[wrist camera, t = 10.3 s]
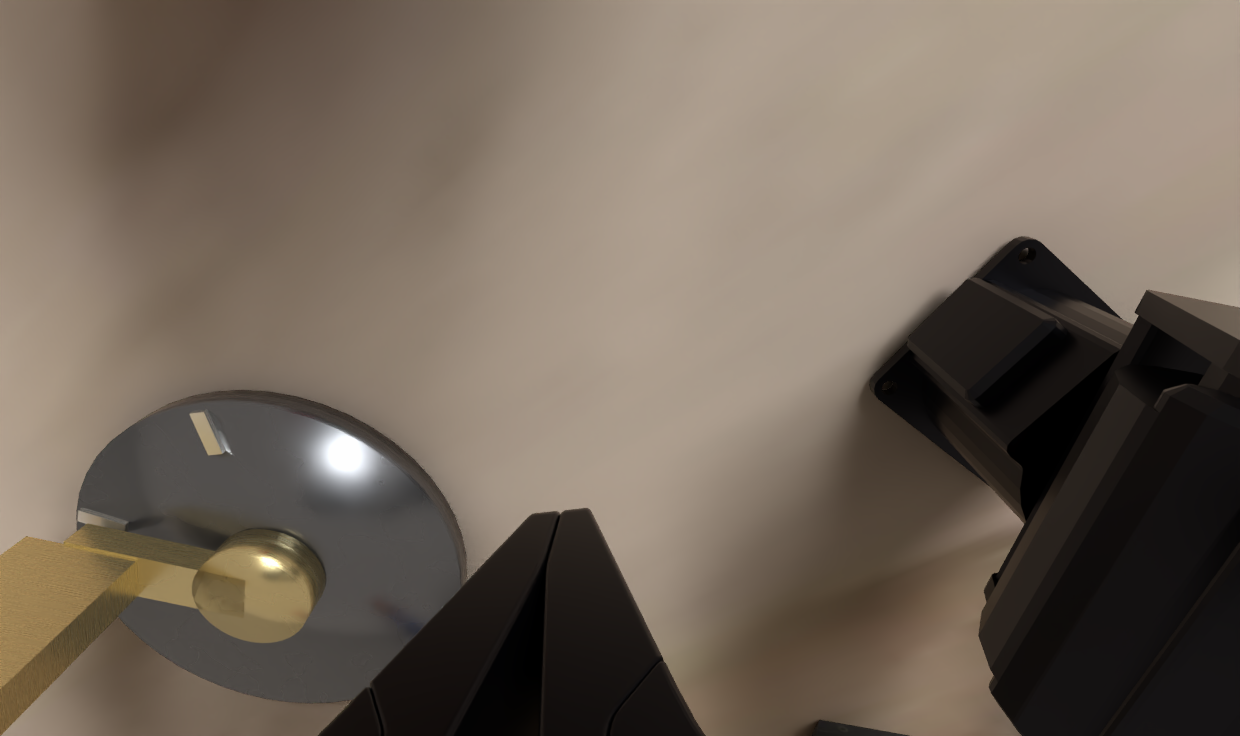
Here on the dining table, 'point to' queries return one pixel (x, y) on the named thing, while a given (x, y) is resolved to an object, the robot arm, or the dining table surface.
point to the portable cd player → (847, 730)
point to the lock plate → (293, 505)
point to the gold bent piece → (140, 595)
